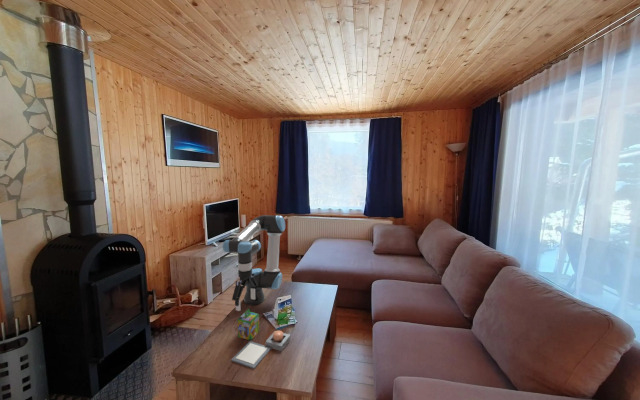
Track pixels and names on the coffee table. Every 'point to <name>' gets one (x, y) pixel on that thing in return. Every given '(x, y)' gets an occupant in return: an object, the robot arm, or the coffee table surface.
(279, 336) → the button
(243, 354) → the slate
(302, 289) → the coffee table surface
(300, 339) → the coffee table surface
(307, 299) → the coffee table surface
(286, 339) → the button console
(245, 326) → the chalk box
